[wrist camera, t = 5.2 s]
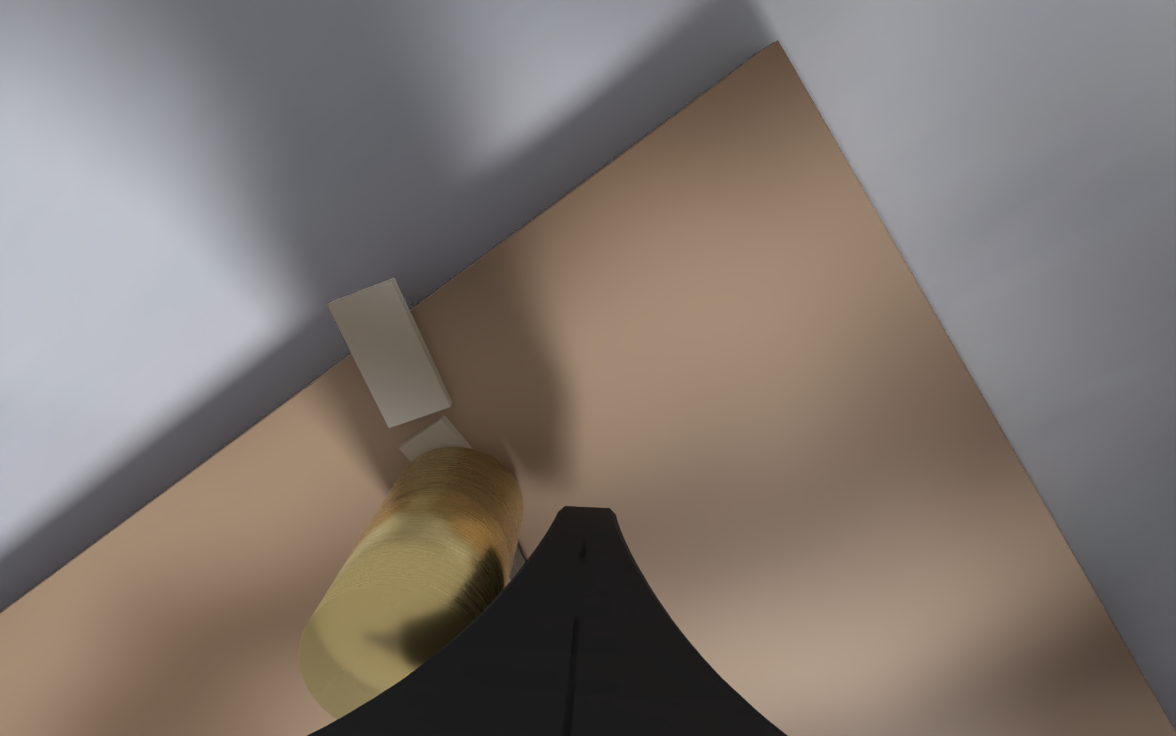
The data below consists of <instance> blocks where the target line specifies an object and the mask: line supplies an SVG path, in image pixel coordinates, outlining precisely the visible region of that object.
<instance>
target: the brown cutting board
mask: <svg viewBox="0 0 1176 736" xmlns="http://www.w3.org/2000/svg"><path fill="white" fill-rule="evenodd" d="M327 306H328V308H329V310H330V312H331V314H332V316H333V318H334V320H335V322H336V324H337V326H338V328H339V330H340V332H341V334H342V336H343V338H344V340H345V342H346V344H347V346H348V348H349V350H350V352H351V353H350V354H349V355H348V356H346V357H345V358H344V359H342V360H341V361H340V362H338V363H337V364H336V365H334V366H333V367H332V368H330V369H329V370H327V371H326V372H325V373H323V374H322V375H321V376H319V377H318V378H317V379H315V380H314V381H313V382H311V383H310V384H308V385H307V386H306V387H304V388H303V389H302V390H300V391H299V392H298V393H296V394H295V395H294V396H292V397H291V398H290V399H288V400H287V401H285V402H284V403H283V404H281V405H280V406H279V407H277V408H276V409H275V410H273V411H272V412H271V413H269V414H268V415H267V416H265V417H264V418H262V419H261V420H260V421H258V422H257V423H256V424H254V425H253V426H252V427H250V428H249V429H248V430H246V431H245V432H244V433H242V434H241V435H239V436H238V437H237V438H235V439H234V440H233V441H231V442H230V443H229V444H227V445H226V446H225V447H223V448H222V449H220V450H219V451H218V452H216V453H215V454H214V455H212V456H211V457H210V458H208V459H207V460H206V461H204V462H203V463H202V464H200V465H199V466H197V467H196V468H195V469H193V470H192V471H191V472H189V473H188V474H187V475H185V476H184V477H183V478H181V479H180V480H179V481H177V482H176V483H174V484H173V485H172V486H170V487H169V488H168V489H166V490H165V491H164V492H162V493H161V494H160V495H158V496H157V497H155V498H154V499H153V500H151V501H150V502H149V503H147V504H146V505H145V506H143V507H142V508H141V509H139V510H138V511H137V512H135V513H134V514H132V515H131V516H130V517H128V518H127V519H126V520H124V521H123V522H122V523H120V524H119V525H118V526H116V527H115V528H114V529H112V530H111V531H109V532H108V533H107V534H105V535H104V536H103V537H101V538H100V539H99V540H97V541H96V542H95V543H93V544H92V545H90V546H89V547H88V548H86V549H85V550H84V551H82V552H81V553H80V554H78V555H77V556H76V557H74V558H73V559H72V560H70V561H69V562H67V563H66V564H65V565H63V566H62V567H61V568H59V569H58V570H57V571H55V572H54V573H53V574H51V575H50V576H49V577H47V578H46V579H44V580H43V581H42V582H40V583H39V584H38V585H36V586H35V587H34V588H32V589H31V590H30V591H28V592H27V593H25V594H24V595H23V596H21V597H20V598H19V599H17V600H16V601H15V602H13V603H12V604H11V605H9V606H8V607H7V608H5V609H4V610H2V611H1V612H0V736H307V735H309V734H311V733H313V732H315V731H317V730H319V729H321V728H323V727H325V726H327V725H328V724H330V723H332V722H334V721H336V720H337V719H335V718H334V717H333V716H331V715H330V714H329V713H328V712H327V711H326V710H324V709H323V708H322V707H321V705H320V704H319V703H318V702H317V701H316V700H315V699H314V697H313V696H312V694H311V693H310V692H309V690H308V688H307V686H306V684H305V682H304V679H303V677H302V674H301V670H300V666H299V654H298V652H299V644H300V640H301V636H302V633H303V631H304V629H305V627H306V625H307V623H308V622H309V620H310V618H311V617H312V615H313V614H314V612H315V610H316V609H317V607H318V606H319V604H320V602H321V601H322V599H323V597H324V596H325V594H326V593H327V591H328V589H329V588H330V586H331V585H332V583H333V581H334V580H335V578H336V577H337V575H338V573H339V572H340V570H341V569H342V567H343V565H344V564H345V562H346V561H347V559H348V557H349V556H350V554H351V552H352V551H353V549H354V548H355V546H356V544H357V543H358V541H359V540H360V538H361V536H362V535H363V533H364V532H365V530H366V528H367V527H368V525H369V524H370V522H371V520H372V519H373V517H374V516H375V514H376V512H377V511H378V509H379V507H380V506H381V504H382V503H383V501H384V499H385V498H386V496H387V495H388V493H389V491H390V490H391V488H392V487H393V485H394V483H395V482H396V480H397V479H398V477H399V475H400V474H401V472H402V471H403V470H404V468H405V467H406V466H407V465H408V464H409V463H410V462H411V461H412V460H414V459H415V458H416V457H418V456H420V455H421V454H423V453H425V452H428V451H430V450H434V449H437V448H443V447H465V448H470V449H474V450H477V451H480V452H483V453H485V454H487V455H489V456H491V457H492V458H494V459H495V460H497V461H498V462H500V463H501V464H502V465H503V466H504V467H505V468H506V469H507V470H508V471H509V472H510V473H511V474H512V476H513V477H514V479H515V480H516V482H517V484H518V486H519V488H520V491H521V493H522V497H523V502H524V517H523V521H522V526H521V530H520V534H519V539H518V543H517V546H518V548H519V550H520V552H521V554H522V556H523V558H524V561H525V562H526V561H527V559H528V558H529V557H530V556H531V554H532V553H533V552H534V550H535V549H536V548H537V546H538V545H539V543H540V542H541V540H542V539H543V537H544V536H545V534H546V533H547V531H548V530H549V528H550V526H551V525H552V523H553V521H554V519H555V517H556V515H557V513H558V511H560V510H561V509H562V508H563V507H564V506H577V507H598V508H610V509H611V510H612V511H613V512H614V513H615V514H616V517H617V521H618V524H619V527H620V529H621V532H622V534H623V537H624V539H625V541H626V543H627V545H628V548H629V550H630V552H631V554H632V556H633V558H634V559H635V561H636V563H637V565H638V567H639V568H640V570H641V572H642V574H643V575H644V577H645V579H646V580H647V582H648V584H649V586H650V587H651V589H652V590H653V592H654V593H655V595H656V597H657V598H658V600H659V601H660V602H661V604H662V605H663V607H664V608H665V610H666V611H667V613H668V614H669V615H670V617H671V618H672V620H673V621H674V622H675V624H676V625H677V626H678V628H679V629H680V630H681V632H682V633H683V634H684V635H685V637H686V638H687V639H688V640H689V642H690V643H691V644H692V645H693V646H694V647H695V649H696V650H697V651H698V652H699V653H700V654H701V656H702V657H703V658H704V659H705V660H706V661H707V662H708V663H709V665H710V666H711V667H712V668H713V669H714V670H715V671H716V672H717V673H718V674H719V675H720V676H721V677H722V678H723V679H724V680H725V681H726V682H727V683H728V684H729V685H730V686H731V687H732V688H733V689H734V690H735V691H737V692H738V693H739V694H740V695H741V696H742V697H743V698H744V699H745V700H746V701H747V702H748V703H749V704H750V705H752V706H753V707H754V708H755V709H756V710H757V711H758V712H759V713H761V714H762V715H763V716H764V717H765V718H766V719H767V720H769V721H770V722H771V723H773V724H774V725H775V726H776V727H778V728H779V729H780V730H781V731H783V732H784V733H785V734H786V735H788V736H1176V732H1175V730H1174V728H1173V726H1172V725H1171V723H1170V721H1169V719H1168V718H1167V716H1166V714H1165V713H1164V711H1163V709H1162V707H1161V706H1160V704H1159V702H1158V700H1157V699H1156V697H1155V695H1154V693H1153V692H1152V690H1151V688H1150V686H1149V685H1148V683H1147V681H1146V680H1145V678H1144V676H1143V674H1142V673H1141V671H1140V669H1139V667H1138V666H1137V664H1136V662H1135V660H1134V659H1133V657H1132V655H1131V653H1130V652H1129V650H1128V648H1127V646H1126V645H1125V643H1124V641H1123V640H1122V638H1121V636H1120V634H1119V633H1118V631H1117V629H1116V627H1115V626H1114V624H1113V622H1112V620H1111V619H1110V617H1109V615H1108V613H1107V612H1106V610H1105V608H1104V607H1103V605H1102V603H1101V601H1100V600H1099V598H1098V596H1097V594H1096V593H1095V591H1094V589H1093V587H1092V586H1091V584H1090V582H1089V580H1088V579H1087V577H1086V575H1085V573H1084V572H1083V570H1082V568H1081V567H1080V565H1079V563H1078V561H1077V560H1076V558H1075V556H1074V554H1073V553H1072V551H1071V549H1070V547H1069V546H1068V544H1067V542H1066V540H1065V539H1064V537H1063V535H1062V534H1061V532H1060V530H1059V528H1058V527H1057V525H1056V523H1055V521H1054V520H1053V518H1052V516H1051V514H1050V513H1049V511H1048V509H1047V507H1046V506H1045V504H1044V502H1043V501H1042V499H1041V497H1040V495H1039V494H1038V492H1037V490H1036V488H1035V487H1034V485H1033V483H1032V481H1031V480H1030V478H1029V476H1028V474H1027V473H1026V471H1025V469H1024V467H1023V466H1022V464H1021V462H1020V461H1019V459H1018V457H1017V455H1016V454H1015V452H1014V450H1013V448H1012V447H1011V445H1010V443H1009V441H1008V440H1007V438H1006V436H1005V434H1004V433H1003V431H1002V429H1001V428H1000V426H999V424H998V422H997V421H996V419H995V417H994V415H993V414H992V412H991V410H990V408H989V407H988V405H987V403H986V401H985V400H984V398H983V396H982V394H981V393H980V391H979V389H978V388H977V386H976V384H975V382H974V381H973V379H972V377H971V375H970V374H969V372H968V370H967V368H966V367H965V365H964V363H963V361H962V360H961V358H960V356H959V355H958V353H957V351H956V349H955V348H954V346H953V344H952V342H951V341H950V339H949V337H948V335H947V334H946V332H945V330H944V328H943V327H942V325H941V323H940V321H939V320H938V318H937V316H936V315H935V313H934V311H933V309H932V308H931V306H930V304H929V302H928V301H927V299H926V297H925V295H924V294H923V292H922V290H921V288H920V287H919V285H918V283H917V282H916V280H915V278H914V276H913V275H912V273H911V271H910V269H909V268H908V266H907V264H906V262H905V261H904V259H903V257H902V255H901V254H900V252H899V250H898V248H897V247H896V245H895V243H894V242H893V240H892V238H891V236H890V235H889V233H888V231H887V229H886V228H885V226H884V224H883V222H882V221H881V219H880V217H879V215H878V214H877V212H876V210H875V209H874V207H873V205H872V203H871V202H870V200H869V198H868V196H867V195H866V193H865V191H864V189H863V188H862V186H861V184H860V182H859V181H858V179H857V177H856V175H855V174H854V172H853V170H852V169H851V167H850V165H849V163H848V162H847V160H846V158H845V156H844V155H843V153H842V151H841V149H840V148H839V146H838V144H837V142H836V141H835V139H834V137H833V136H832V134H831V132H830V130H829V129H828V127H827V125H826V123H825V122H824V120H823V118H822V116H821V115H820V113H819V111H818V109H817V108H816V106H815V104H814V102H813V101H812V99H811V97H810V96H809V94H808V92H807V90H806V89H805V87H804V85H803V83H802V82H801V80H800V78H799V76H798V75H797V73H796V71H795V69H794V68H793V66H792V64H791V63H790V61H789V59H788V57H787V56H786V54H785V52H784V50H783V49H782V47H781V45H780V43H779V42H778V41H776V42H774V43H772V44H770V45H769V46H767V47H765V48H763V49H762V50H761V51H759V52H758V53H757V54H755V55H754V56H753V57H751V58H750V59H749V60H747V61H746V62H745V63H743V64H742V65H740V66H739V67H738V68H736V69H735V70H734V71H732V72H731V73H730V74H728V75H727V76H726V77H724V78H723V79H721V80H720V81H719V82H717V83H716V84H715V85H713V86H712V87H711V88H709V89H708V90H707V91H705V92H704V93H703V94H701V95H700V96H698V97H697V98H696V99H694V100H693V101H692V102H690V103H689V104H688V105H686V106H685V107H684V108H682V109H681V110H680V111H678V112H677V113H675V114H674V115H673V116H671V117H670V118H669V119H667V120H666V121H665V122H663V123H662V124H661V125H659V126H658V127H656V128H655V129H654V130H652V131H651V132H650V133H648V134H647V135H646V136H644V137H643V138H642V139H640V140H639V141H638V142H636V143H635V144H633V145H632V146H631V147H629V148H628V149H627V150H625V151H624V152H623V153H621V154H620V155H619V156H617V157H616V158H615V159H613V160H612V161H610V162H609V163H608V164H606V165H605V166H604V167H602V168H601V169H600V170H598V171H597V172H596V173H594V174H593V175H591V176H590V177H589V178H587V179H586V180H585V181H583V182H582V183H581V184H579V185H578V186H577V187H575V188H574V189H573V190H571V191H570V192H568V193H567V194H566V195H564V196H563V197H562V198H560V199H559V200H558V201H556V202H555V203H554V204H552V205H551V206H550V207H548V208H547V209H545V210H544V211H543V212H541V213H540V214H539V215H537V216H536V217H535V218H533V219H532V220H531V221H529V222H528V223H527V224H525V225H524V226H522V227H521V228H520V229H518V230H517V231H516V232H514V233H513V234H512V235H510V236H509V237H508V238H506V239H505V240H503V241H502V242H501V243H499V244H498V245H497V246H495V247H494V248H493V249H491V250H490V251H489V252H487V253H486V254H485V255H483V256H482V257H480V258H479V259H478V260H476V261H475V262H474V263H472V264H471V265H470V266H468V267H467V268H466V269H464V270H463V271H462V272H460V273H459V274H457V275H456V276H455V277H453V278H452V279H451V280H449V281H448V282H447V283H445V284H444V285H443V286H441V287H440V288H438V289H437V290H436V291H434V292H433V293H432V294H430V295H429V296H428V297H426V298H425V299H424V300H422V301H421V302H420V303H418V304H417V305H415V306H414V307H413V308H411V309H410V310H409V308H408V305H407V303H406V301H405V299H404V297H403V295H402V293H401V290H400V288H399V286H398V284H397V282H396V280H395V278H391V279H389V280H386V281H383V282H381V283H378V284H376V285H373V286H370V287H368V288H365V289H362V290H360V291H357V292H355V293H352V294H349V295H347V296H344V297H341V298H339V299H336V300H333V301H331V302H329V303H328V304H327Z"/></svg>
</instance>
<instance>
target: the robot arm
mask: <svg viewBox="0 0 1176 736" xmlns="http://www.w3.org/2000/svg"><path fill="white" fill-rule="evenodd" d="M307 736H788V735H786V734H785V733H784V732H783V731H781V730H780V729H779V728H778V727H776V726H775V725H774V724H773V723H771V722H770V721H769V720H767V719H766V718H765V717H764V716H763V715H762V714H761V713H759V712H758V711H757V710H756V709H755V708H754V707H753V706H752V705H750V704H749V703H748V702H747V701H746V700H745V699H744V698H743V697H742V696H741V695H740V694H739V693H738V692H737V691H735V690H734V689H733V688H732V687H731V686H730V685H729V684H728V683H727V682H726V681H725V680H724V679H723V678H722V677H721V676H720V675H719V674H718V673H717V672H716V671H715V670H714V669H713V668H712V667H711V666H710V665H709V663H708V662H707V661H706V660H705V659H704V658H703V657H702V656H701V654H700V653H699V652H698V651H697V650H696V649H695V647H694V646H693V645H692V644H691V643H690V642H689V640H688V639H687V638H686V637H685V635H684V634H683V633H682V632H681V630H680V629H679V628H678V626H677V625H676V624H675V622H674V621H673V620H672V618H671V617H670V615H669V614H668V613H667V611H666V610H665V608H664V607H663V605H662V604H661V602H660V601H659V600H658V598H657V597H656V595H655V593H654V592H653V590H652V589H651V587H650V586H649V584H648V582H647V580H646V579H645V577H644V575H643V574H642V572H641V570H640V568H639V567H638V565H637V563H636V561H635V559H634V558H633V556H632V554H631V552H630V550H629V548H628V545H627V543H626V541H625V539H624V537H623V534H622V532H621V529H620V527H619V524H618V521H617V517H616V514H615V513H614V512H613V511H612V510H611V509H610V508H598V507H577V506H564V507H563V508H562V509H561V510H560V511H558V513H557V515H556V517H555V519H554V521H553V523H552V525H551V526H550V528H549V530H548V531H547V533H546V534H545V536H544V537H543V539H542V540H541V542H540V543H539V545H538V546H537V548H536V549H535V550H534V552H533V553H532V554H531V556H530V557H529V558H528V559H527V561H526V562H525V563H524V565H523V566H522V567H521V569H520V570H519V571H518V573H517V574H516V575H515V576H514V577H513V579H512V580H511V581H510V582H509V583H508V584H507V585H506V586H505V588H504V589H503V590H502V591H501V592H500V593H499V594H498V595H497V597H496V598H495V599H494V600H493V601H492V602H491V603H490V604H489V605H488V607H487V608H486V609H485V610H484V611H483V612H482V613H481V614H480V615H479V616H478V617H477V618H476V619H475V620H474V621H473V622H471V623H470V624H469V625H468V626H467V627H466V628H465V629H464V630H463V631H462V632H461V633H460V634H458V635H457V636H456V637H455V638H454V639H453V640H452V641H451V642H450V643H448V644H447V645H446V646H445V647H444V648H442V649H441V650H440V651H439V652H437V653H436V654H435V655H434V656H432V657H431V658H430V659H429V660H427V661H426V662H425V663H424V664H422V665H421V666H420V667H418V668H417V669H416V670H414V671H413V672H412V673H410V674H409V675H408V676H406V677H405V678H404V679H402V680H401V681H399V682H398V683H396V684H395V685H393V686H392V687H390V688H388V689H387V690H385V691H384V692H382V693H381V694H379V695H378V696H376V697H375V698H373V699H371V700H370V701H368V702H366V703H365V704H363V705H361V706H360V707H358V708H356V709H355V710H353V711H351V712H350V713H348V714H346V715H345V716H343V717H341V718H339V719H337V720H336V721H334V722H332V723H330V724H328V725H327V726H325V727H323V728H321V729H319V730H317V731H315V732H313V733H311V734H309V735H307Z"/></svg>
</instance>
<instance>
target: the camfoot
mask: <svg viewBox="0 0 1176 736" xmlns="http://www.w3.org/2000/svg"><path fill="white" fill-rule="evenodd" d="M523 517H524V502H523V497H522V493H521V491H520V488H519V486H518V484H517V482H516V480H515V479H514V477H513V476H512V474H511V473H510V472H509V471H508V470H507V469H506V468H505V467H504V466H503V465H502V464H501V463H500V462H498V461H497V460H495V459H494V458H492V457H491V456H489V455H487V454H485V453H483V452H480V451H477V450H474V449H470V448H465V447H443V448H437V449H434V450H430V451H428V452H425V453H423V454H421V455H420V456H418V457H416V458H415V459H414V460H412V461H411V462H410V463H409V464H408V465H407V466H406V467H405V468H404V470H403V471H402V472H401V474H400V475H399V477H398V479H397V480H396V482H395V483H394V485H393V487H392V488H391V490H390V491H389V493H388V495H387V496H386V498H385V499H384V501H383V503H382V504H381V506H380V507H379V509H378V511H377V512H376V514H375V516H374V517H373V519H372V520H371V522H370V524H369V525H368V527H367V528H366V530H365V532H364V533H363V535H362V536H361V538H360V540H359V541H358V543H357V544H356V546H355V548H354V549H353V551H352V552H351V554H350V556H349V557H348V559H347V561H346V562H345V564H344V565H343V567H342V569H341V570H340V572H339V573H338V575H337V577H336V578H335V580H334V581H333V583H332V585H331V586H330V588H329V589H328V591H327V593H326V594H325V596H324V597H323V599H322V601H321V602H320V604H319V606H318V607H317V609H316V610H315V612H314V614H313V615H312V617H311V618H310V620H309V622H308V623H307V625H306V627H305V629H304V631H303V633H302V636H301V640H300V644H299V652H298V654H299V666H300V670H301V674H302V677H303V679H304V682H305V684H306V686H307V688H308V690H309V692H310V693H311V694H312V696H313V697H314V699H315V700H316V701H317V702H318V703H319V704H320V705H321V707H322V708H323V709H324V710H326V711H327V712H328V713H329V714H330V715H331V716H333V717H334V718H335V719H339V718H341V717H343V716H345V715H346V714H348V713H350V712H351V711H353V710H355V709H356V708H358V707H360V706H361V705H363V704H365V703H366V702H368V701H370V700H371V699H373V698H375V697H376V696H378V695H379V694H381V693H382V692H384V691H385V690H387V689H388V688H390V687H392V686H393V685H395V684H396V683H398V682H399V681H401V680H402V679H404V678H405V677H406V676H408V675H409V674H410V673H412V672H413V671H414V670H416V669H417V668H418V667H420V666H421V665H422V664H424V663H425V662H426V661H427V660H429V659H430V658H431V657H432V656H434V655H435V654H436V653H437V652H439V651H440V650H441V649H442V648H444V647H445V646H446V645H447V644H448V643H450V642H451V641H452V640H453V639H454V638H455V637H456V636H457V635H458V634H460V633H461V632H462V631H463V630H464V629H465V628H466V627H467V626H468V625H469V624H470V623H471V622H473V621H474V620H475V619H476V618H477V617H478V616H479V615H480V614H481V613H482V612H483V611H484V610H485V609H486V608H487V607H488V605H489V604H490V603H491V602H492V601H493V600H494V599H495V598H496V597H497V595H498V594H499V593H500V592H501V591H502V590H503V589H504V588H505V586H506V585H507V584H508V583H509V582H510V581H511V580H512V579H513V577H514V576H515V575H516V574H517V573H518V571H519V570H520V569H521V567H522V566H523V565H524V563H525V561H524V558H523V556H522V554H521V552H520V550H519V548H518V546H517V543H518V539H519V534H520V530H521V526H522V521H523Z"/></svg>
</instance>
